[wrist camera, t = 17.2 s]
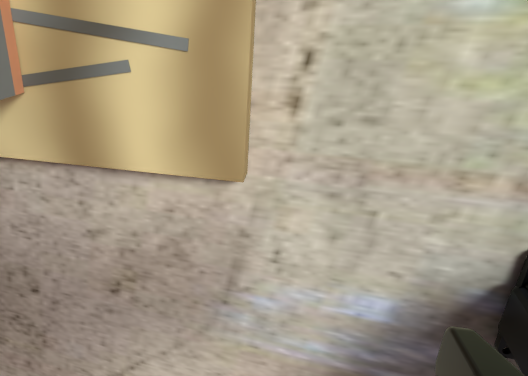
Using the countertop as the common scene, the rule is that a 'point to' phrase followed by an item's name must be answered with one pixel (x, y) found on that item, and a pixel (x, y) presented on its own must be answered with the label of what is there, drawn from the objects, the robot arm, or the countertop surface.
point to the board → (133, 85)
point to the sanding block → (8, 55)
